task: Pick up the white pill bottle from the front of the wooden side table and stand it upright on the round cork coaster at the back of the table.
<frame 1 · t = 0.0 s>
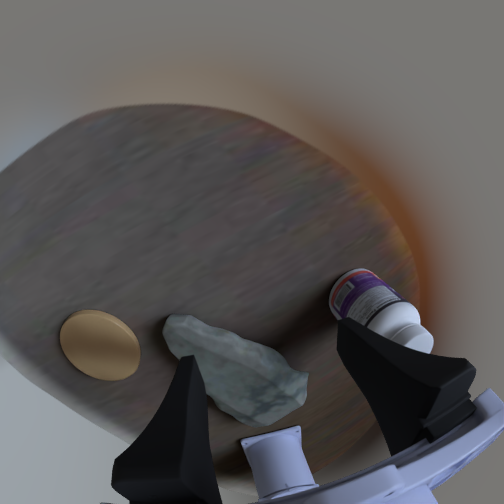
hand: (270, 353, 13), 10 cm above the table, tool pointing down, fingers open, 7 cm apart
stone: (236, 362, 26), on the table
coaster: (100, 345, 23), on the table
pill bottle: (352, 292, 26), on the table
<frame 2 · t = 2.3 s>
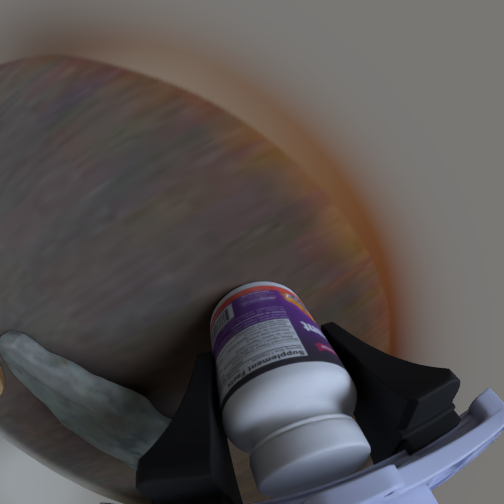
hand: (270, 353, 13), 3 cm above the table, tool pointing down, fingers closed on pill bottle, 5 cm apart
stone: (104, 399, 17), on the table
pill bottle: (256, 318, 16), on the table, touching gripper
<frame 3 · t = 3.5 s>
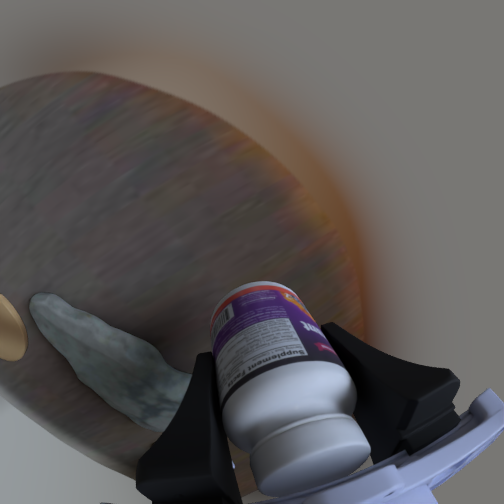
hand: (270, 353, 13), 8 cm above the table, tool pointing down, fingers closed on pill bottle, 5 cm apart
stone: (117, 354, 21), on the table
pill bottle: (256, 318, 16), point 5 cm above the table, touching gripper
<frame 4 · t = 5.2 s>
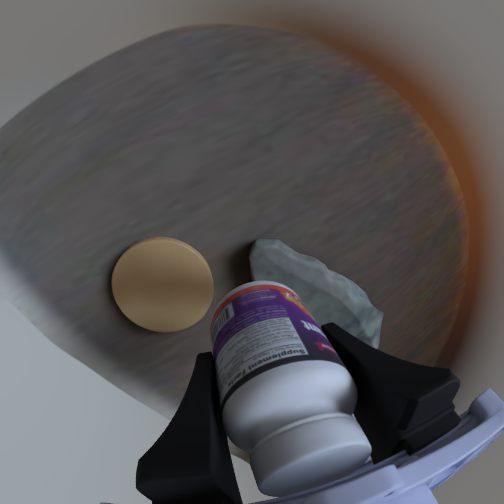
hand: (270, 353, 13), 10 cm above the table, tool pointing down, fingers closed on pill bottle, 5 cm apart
stone: (314, 302, 25), on the table
coaster: (162, 285, 22), on the table
pill bottle: (256, 318, 16), point 7 cm above the table, touching gripper
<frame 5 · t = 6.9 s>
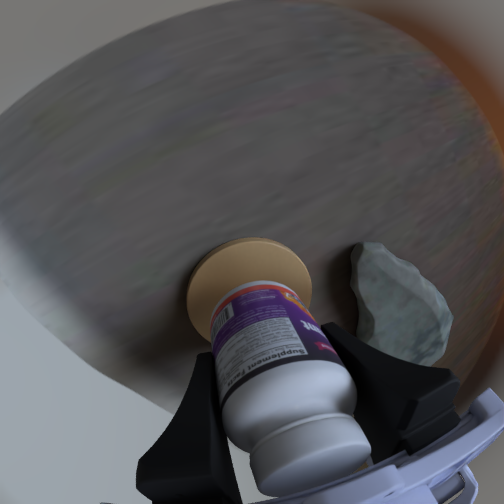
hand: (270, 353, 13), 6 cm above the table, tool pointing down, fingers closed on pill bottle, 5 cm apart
stone: (396, 308, 22), on the table
coaster: (249, 296, 18), on the table
pill bottle: (256, 318, 16), point 3 cm above the table, touching gripper
when the fingers open (4 cm above the table, at t = 8.2 s): pill bottle stays where it is, resting on coaster.
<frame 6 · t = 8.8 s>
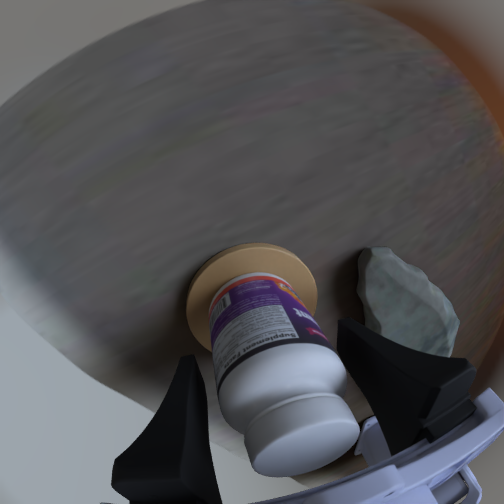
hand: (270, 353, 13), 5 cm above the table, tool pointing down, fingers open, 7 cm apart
stone: (402, 314, 21), on the table
coaster: (251, 304, 18), on the table
pill bottle: (253, 308, 17), point 1 cm above the table, touching coaster
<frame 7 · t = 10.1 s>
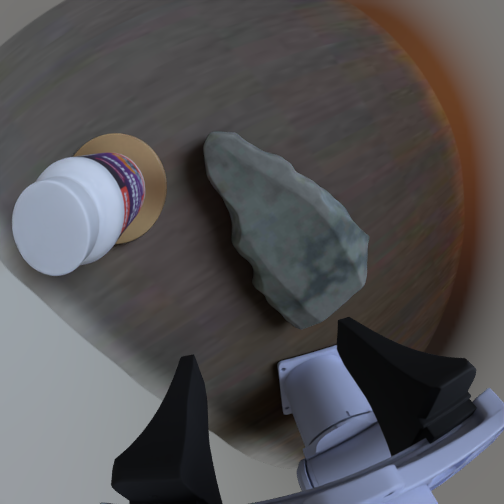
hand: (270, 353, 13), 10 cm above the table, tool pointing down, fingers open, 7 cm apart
stone: (284, 218, 22), on the table
coaster: (114, 188, 19), on the table
pill bottle: (111, 189, 18), point 1 cm above the table, touching coaster
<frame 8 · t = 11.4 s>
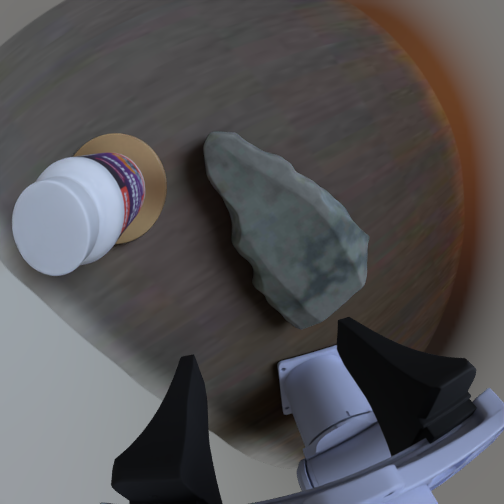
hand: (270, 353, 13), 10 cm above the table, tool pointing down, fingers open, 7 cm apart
stone: (284, 218, 22), on the table
coaster: (114, 188, 19), on the table
pill bottle: (111, 189, 18), point 1 cm above the table, touching coaster
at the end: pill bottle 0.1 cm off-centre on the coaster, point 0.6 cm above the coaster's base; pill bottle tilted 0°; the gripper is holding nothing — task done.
